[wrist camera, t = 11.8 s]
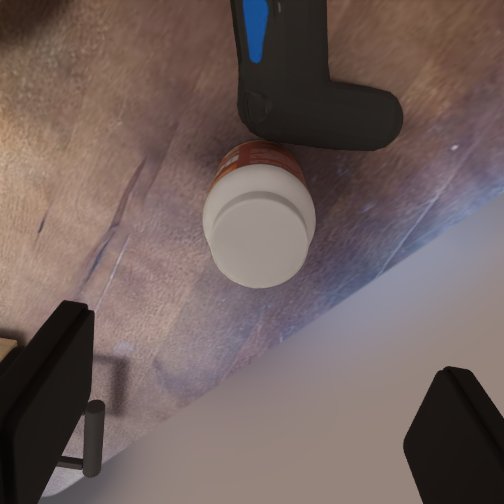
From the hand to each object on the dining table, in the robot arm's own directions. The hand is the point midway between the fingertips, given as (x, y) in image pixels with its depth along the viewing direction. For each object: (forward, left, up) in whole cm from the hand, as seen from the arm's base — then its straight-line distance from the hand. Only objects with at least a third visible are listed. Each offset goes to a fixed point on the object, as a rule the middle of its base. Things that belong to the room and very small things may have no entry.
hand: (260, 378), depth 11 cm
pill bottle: (0, 0, -20) cm, 20 cm away
